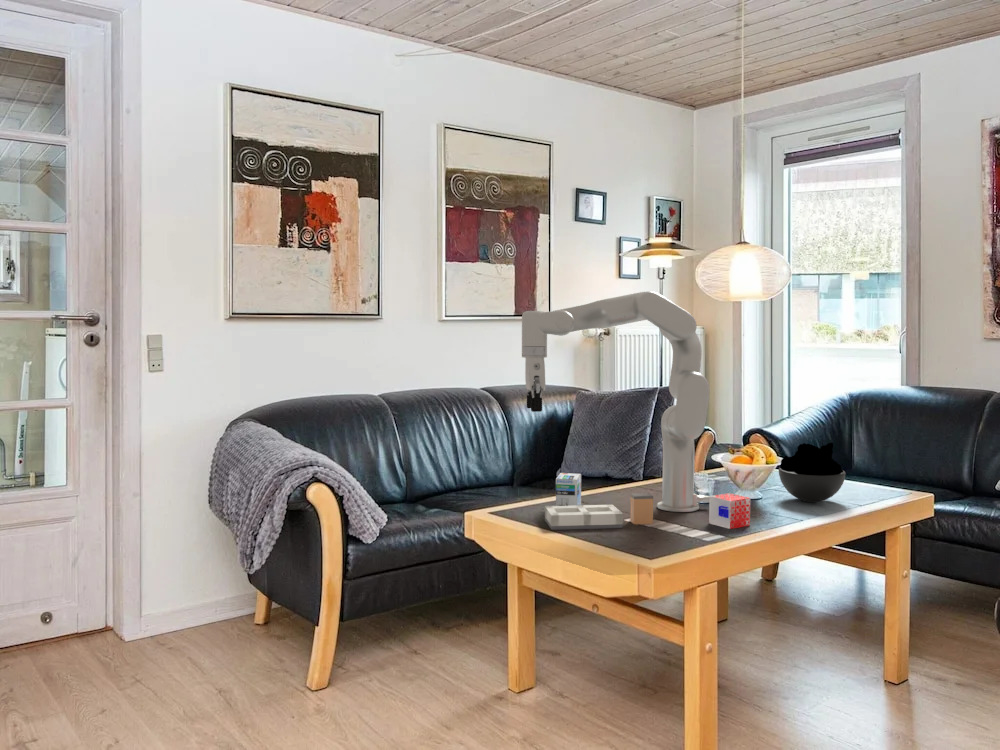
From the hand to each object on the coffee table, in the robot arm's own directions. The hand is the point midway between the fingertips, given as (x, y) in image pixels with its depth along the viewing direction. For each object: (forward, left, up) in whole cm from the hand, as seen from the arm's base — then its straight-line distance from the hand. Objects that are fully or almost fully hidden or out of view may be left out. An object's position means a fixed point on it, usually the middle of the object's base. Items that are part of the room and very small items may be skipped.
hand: (534, 409), depth 261 cm
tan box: (-29, +17, -31) cm, 45 cm away
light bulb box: (-11, 0, -31) cm, 33 cm away
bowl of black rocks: (-90, -5, -31) cm, 95 cm away
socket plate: (-12, +17, -31) cm, 37 cm away
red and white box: (-53, +22, -31) cm, 65 cm away
